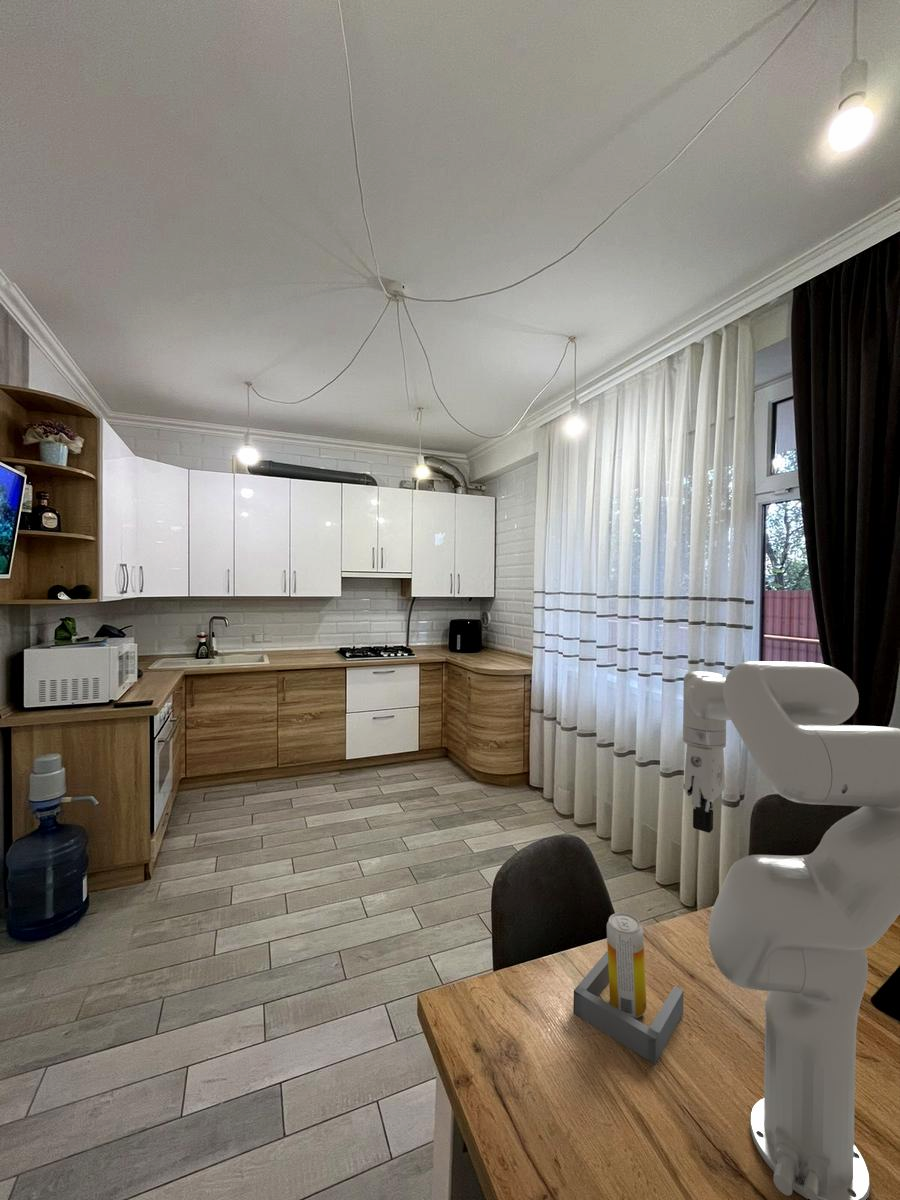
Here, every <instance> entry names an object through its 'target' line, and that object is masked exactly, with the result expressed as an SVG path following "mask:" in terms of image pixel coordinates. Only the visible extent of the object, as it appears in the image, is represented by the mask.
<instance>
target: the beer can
mask: <svg viewBox="0 0 900 1200" xmlns="http://www.w3.org/2000/svg"><path fill="white" fill-rule="evenodd" d="M644 941H645V940H644V929H643V926H641V922H640V920H639V919H638V918H637V917H636V916H634V915H632V914H629V913H625V912H615V913H613V914H611V915H610V916H609V917H608V921H607V923H606V942H607V943H606V944H607V951H608V969H609V983H608V985H609V986H608V987H609V989H608V990H609V1002H610V1005H612V1006H614V1007H616V1008H617V1009H619V1010H621V1011H622V1012H624V1013H626V1014H627V1015H629V1016H631V1017H633V1018H634V1019H636V1020H637V1019H639V1018H640V1017H642V1016H643V1014H645V1012H646V1010H647V989H646V985H647V984H646V967H645V965H646V964H645V947H644V946H645V944H644Z"/></svg>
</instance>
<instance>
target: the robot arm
mask: <svg viewBox="0 0 900 1200" xmlns="http://www.w3.org/2000/svg"><path fill="white" fill-rule="evenodd" d="M859 696H860V695H859V692H858V689H857V687H856V684H855V683H854V682H853V680H852V679H851V678H850V677H849V676H848V675H847V674H846V673H844V672H843V671H841V670H839V669H837V668H836V667H834V666H830V665H827V664H824V663H819V662H810V661H809V662H807V661H767V660H766V661H763V660H762V661H761V660H760V661H759V660H757V661H756V660H755V661H754V660H753V661H751V660H750V661H744V662H742V663H739V664H738V665H735V666H733V668H732V669H731V670H729V672H728V673H727V675H726V677H725V676H724V675H723V674H721V673H719V672H718V673H717V672H712V671H702V670H701V671H695V670H693V671H690V672H687V673H685V675H684V676H683V698H682V699H683V703H682V704H683V708H682V709H683V710H682V713H683V714H682V741H683V743H685V744H686V751H685V752H686V753H685V764H684V765H685V766H684V767H685V768H684V769H685V770H684V791H685V794H686V795H687V796H688V797H691V806H692V828H693V829H695V830H699V831H702V832H704V833H709V834H710V833H711V832H712V831H713V830H714V801H715V800H716V799H717V798H718V797H719V796H720V795H721V794H722V793H723V792H724V790H725V786H726V781H725V780H726V779H725V777H726V775H725V773H726V772H725V755H724V754H725V753H724V748H726V747H727V721H731V722H732V724H733V725H734V728H735V730H736V731H737V732H738V734H739V736H740V737H741V740H742V741H743V744H744V745H745V747H746V748H747V750H748V752H749V753H750V755H751V757H752V759H753V761H754V762H755V765H756V766H757V768H758V769H759V771H760V773H761V776H763V778H764V780H765V781H766V782H767V784H768V785H769V787H771V789H772V790H773V791H774V792H775V793H776V794H778V795H779V796H780V797H782V798H785V799H786V800H787V801H791V802H793V803H798V804H807V805H820V806H821V805H824V806H847V807H860V808H858V809H857V810H855V811H853V812H851V813H850V814H848V815H846V816H844V817H842V818H841V819H839V820H837V821H836V822H835V823H834V824H833V825H831V826H830V828H829V829H828V830H826V831H825V833H824V834H823V836H822V838H821V840H820V842H819V844H818V845H817V847H815V849H814V851H813V852H811V853H809V854H803V855H779V854H776V855H775V854H751V855H750V854H749V855H746V856H744V857H742V858H739V859H738V860H737V861H735V862H734V863H733V864H732V865H731V867H730V868H729V870H728V872H727V874H726V877H725V879H724V881H723V884H722V886H721V888H720V891H719V893H718V895H717V897H716V900H715V903H714V905H713V906H712V909H711V912H710V916H709V921H708V922H709V923H708V931H707V932H708V934H707V935H708V942H709V943H708V944H709V948H710V949H709V950H710V953H711V956H712V958H713V961H714V963H715V965H716V966H717V968H718V970H719V972H721V974H722V975H723V976H724V977H725V978H726V979H727V980H728V981H729V982H730V983H732V984H734V985H736V986H738V987H740V988H742V989H743V988H744V989H748V990H753V991H754V990H755V991H764V992H765V991H766V992H767V991H768V992H767V996H766V1000H765V1009H764V1010H765V1012H764V1013H765V1014H764V1015H765V1016H764V1017H765V1018H764V1066H763V1067H764V1069H763V1070H764V1071H763V1072H764V1073H763V1082H764V1083H763V1098H761V1099H759V1100H757V1101H756V1102H755V1104H754V1105H753V1107H752V1109H751V1111H750V1114H749V1115H750V1117H749V1122H750V1124H749V1125H750V1134H751V1138H752V1140H753V1143H754V1145H755V1147H756V1149H757V1151H758V1153H759V1154H760V1156H761V1158H762V1159H763V1160H764V1162H765V1163H766V1165H767V1166H768V1167H769V1168H770V1170H771V1171H772V1172H773V1178H772V1179H773V1180H772V1181H773V1183H774V1185H775V1187H776V1188H777V1190H778V1191H779V1192H780V1193H782V1194H783V1195H785V1196H788V1197H789V1196H792V1194H793V1191H795V1193H797V1194H799V1195H800V1196H802V1197H804V1198H805V1199H807V1200H808V1199H810V1200H866V1199H867V1198H868V1199H869V1197H870V1191H871V1190H870V1188H871V1183H870V1182H871V1181H870V1180H871V1179H870V1174H869V1170H868V1166H867V1163H866V1162H865V1160H864V1158H863V1156H862V1153H861V1152H860V1151H859V1149H858V1148H857V1147H856V1145H855V1106H856V1105H855V1104H856V1100H855V1098H856V1097H855V1095H856V1094H855V1093H856V1058H857V1057H856V1056H857V1051H856V1050H857V1028H858V1027H857V1026H858V1018H859V1017H858V1016H859V1011H860V1007H861V1003H862V999H863V997H864V994H865V990H866V987H867V982H868V976H869V973H868V972H869V962H868V956H867V952H866V949H868V948H871V947H872V946H874V945H875V944H876V943H877V942H878V941H880V940H881V938H882V937H884V934H885V933H886V932H887V931H888V930H889V928H890V927H891V926H892V924H893V923H894V922H895V921H896V920H897V918H898V917H899V916H900V728H898V727H890V726H881V725H880V726H878V725H877V726H876V725H858V724H857V725H855V724H852V725H851V724H843V723H845V722H846V721H847V720H849V719H850V718H851V717H852V716H853V715H854V714H855V712H856V711H857V709H858V706H859V700H860V698H859ZM868 1199H867V1200H868Z"/></svg>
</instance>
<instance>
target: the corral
mask: <svg viewBox="0 0 900 1200" xmlns="http://www.w3.org/2000/svg"><path fill="white" fill-rule="evenodd" d="M608 985H609V969H608V950H607V951H606V952H604V954H603V955H602V956H601V958H599V960H598V961H597V962H596V963H595V965H593V967H592V968H591V969H590V970H589V971H588V973H587V974H586V975H585V976H584V977H583V979H582V980H581V981H580V982H579V983H578V984H577V986H576V987H575V988H574V990H573V1010H572V1011H573V1014H574V1015H576V1016H577V1017H579V1018H581V1019H582V1020H583V1021H585V1022H587V1023H588V1024H590V1025H591V1026H593V1027H594V1028H596V1029H598V1030H599V1031H601V1032H602V1033H604V1034H605V1035H606V1036H608V1037H610V1038H611V1039H613V1040H615V1041H616V1042H618V1043H620V1044H621V1045H622V1046H625V1047H626V1048H628V1049H629V1050H631V1051H632V1052H634V1053H635V1054H637V1055H639V1056H640V1057H642V1058H643V1059H645V1060H646V1061H649V1062H650V1063H652V1064H653V1065H655V1066H656V1065H657V1063H658V1061H659V1060H660V1057H661V1056H662V1054H663V1051H664V1050H665V1049H666V1046H667V1045H668V1042H669V1041H670V1039H671V1037H672V1035H673V1033H674V1031H675V1029H676V1027H677V1026H678V1024H679V1022H680V1020H681V1018H682V1016H683V1014H684V989H683V988H680V987H677V986H676V985H674V986H673V988H672V989H671V991H670V992H669V994H668V996H667V997H666V999H665V1001H664V1003H663V1005H662V1006H661V1007H660V1009H659V1011H658V1013H657V1014H656V1016H655V1018H654V1020H653V1021H652V1023H651V1024H650V1026H648V1025H646V1024H644V1023H643V1022H641V1021H639V1020H638V1019H637V1018H636V1019H634V1018H633V1017H631V1016H629V1015H627V1014H626V1013H624V1012H622V1011H621V1010H619V1009H617V1008H616V1007H614V1006H612V1005H611V1003H608V1002H607V1001H605V1000H604V999H601V998H600V997H599V996H600V995H601V993H602V992H603V990H605V988H606V987H607V986H608Z"/></svg>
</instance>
